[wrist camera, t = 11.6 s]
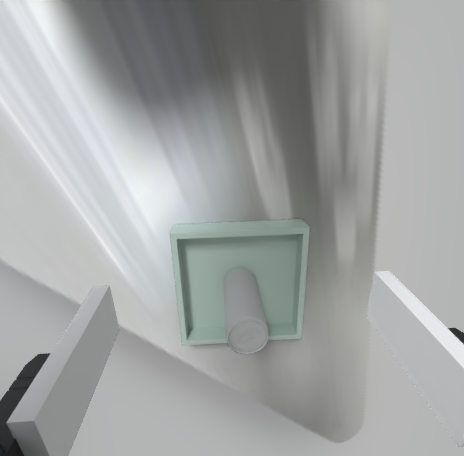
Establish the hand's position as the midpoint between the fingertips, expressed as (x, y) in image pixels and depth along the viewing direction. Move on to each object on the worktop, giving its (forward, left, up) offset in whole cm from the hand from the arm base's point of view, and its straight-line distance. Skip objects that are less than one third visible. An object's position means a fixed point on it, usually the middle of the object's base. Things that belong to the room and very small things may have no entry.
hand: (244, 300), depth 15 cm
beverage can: (+14, +2, -26) cm, 29 cm away
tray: (+14, +2, -26) cm, 30 cm away
